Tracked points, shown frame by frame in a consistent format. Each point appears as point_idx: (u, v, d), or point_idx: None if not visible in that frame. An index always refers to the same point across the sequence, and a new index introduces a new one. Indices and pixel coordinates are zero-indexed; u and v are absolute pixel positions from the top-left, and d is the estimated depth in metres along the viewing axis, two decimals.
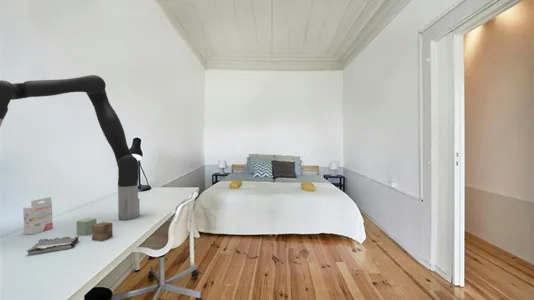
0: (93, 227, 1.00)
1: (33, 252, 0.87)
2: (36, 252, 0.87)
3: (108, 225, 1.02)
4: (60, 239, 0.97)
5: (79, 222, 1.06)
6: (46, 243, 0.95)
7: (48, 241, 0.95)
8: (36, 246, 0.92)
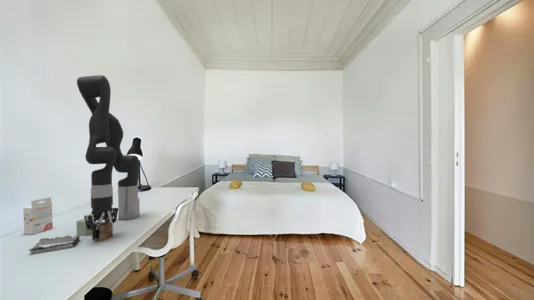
0: None
1: (35, 251, 0.88)
2: (38, 251, 0.88)
3: (108, 225, 1.02)
4: (61, 238, 0.98)
5: (79, 222, 1.06)
6: (47, 242, 0.96)
7: (49, 240, 0.96)
8: (37, 245, 0.93)
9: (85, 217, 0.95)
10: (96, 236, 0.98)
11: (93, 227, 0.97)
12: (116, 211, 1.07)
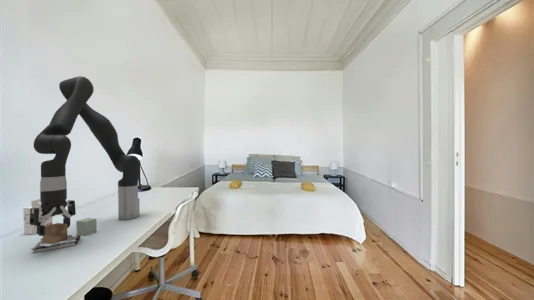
0: None
1: (38, 250, 0.89)
2: (41, 250, 0.90)
3: (62, 226, 0.93)
4: None
5: (79, 222, 1.06)
6: None
7: None
8: (39, 244, 0.94)
9: (31, 209, 0.86)
10: (41, 233, 0.88)
11: (36, 222, 0.86)
12: (73, 204, 0.98)
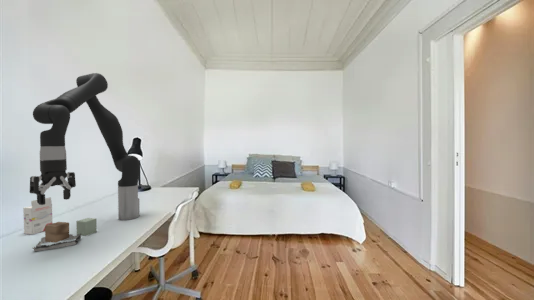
0: (46, 227, 0.92)
1: (39, 249, 0.90)
2: (42, 249, 0.90)
3: (64, 225, 0.94)
4: None
5: (79, 222, 1.06)
6: None
7: None
8: (39, 244, 0.95)
9: (31, 177, 0.86)
10: (41, 201, 0.87)
11: (36, 191, 0.86)
12: (73, 176, 0.98)
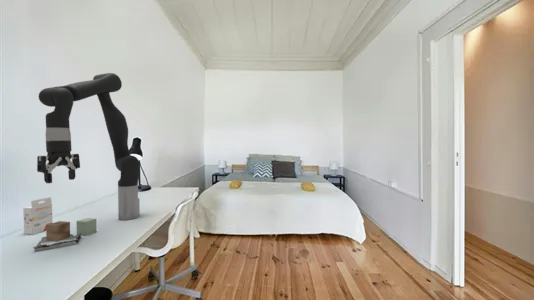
0: (47, 227, 0.93)
1: (39, 249, 0.90)
2: (42, 249, 0.91)
3: (65, 224, 0.95)
4: None
5: (79, 222, 1.06)
6: None
7: None
8: (40, 243, 0.95)
9: (38, 157, 0.90)
10: (48, 180, 0.91)
11: (44, 169, 0.90)
12: (77, 157, 1.02)
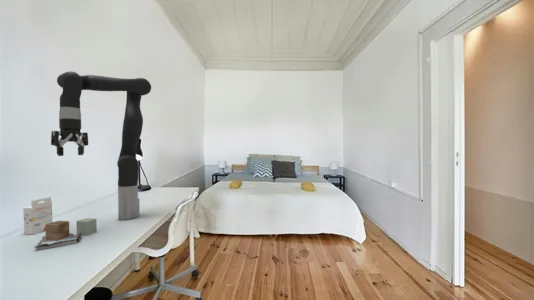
0: (47, 226, 0.94)
1: (40, 248, 0.91)
2: (43, 248, 0.92)
3: (64, 224, 0.96)
4: None
5: (79, 222, 1.06)
6: (49, 240, 0.99)
7: None
8: (40, 243, 0.96)
9: (52, 132, 1.02)
10: (60, 153, 1.03)
11: (56, 143, 1.01)
12: (86, 135, 1.14)
